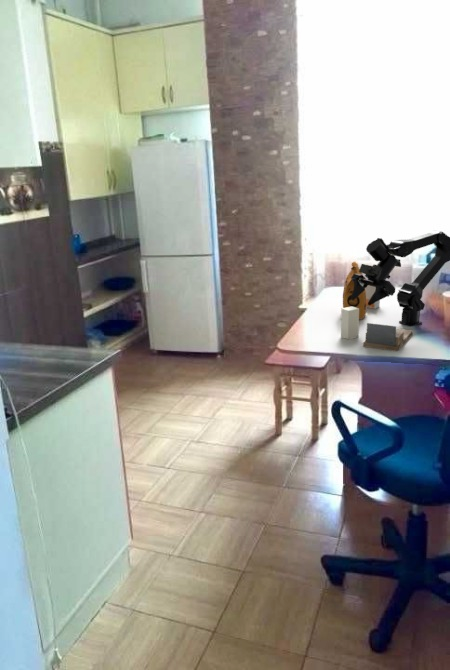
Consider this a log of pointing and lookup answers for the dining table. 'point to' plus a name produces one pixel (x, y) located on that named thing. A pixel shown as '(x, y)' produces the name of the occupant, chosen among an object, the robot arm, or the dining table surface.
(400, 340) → the shelf plank
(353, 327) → the white rectangular block
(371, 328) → the bookend
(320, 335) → the dining table surface
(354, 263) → the coffee package
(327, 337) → the dining table surface
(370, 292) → the skincare box
